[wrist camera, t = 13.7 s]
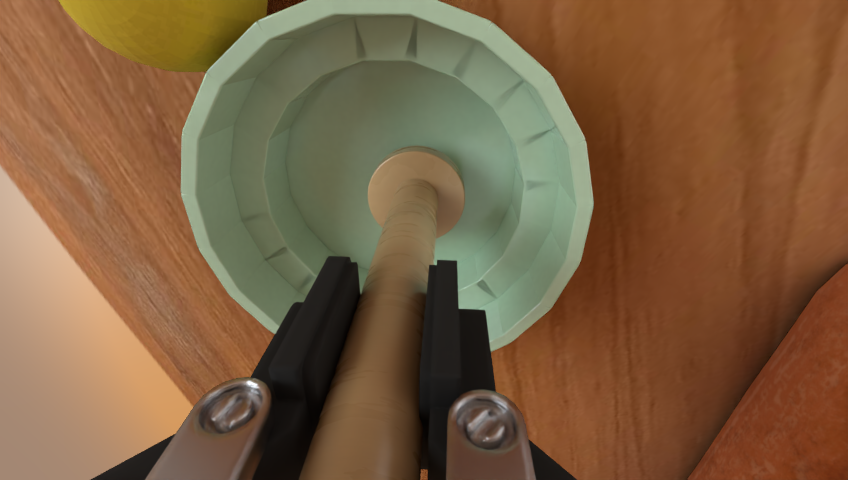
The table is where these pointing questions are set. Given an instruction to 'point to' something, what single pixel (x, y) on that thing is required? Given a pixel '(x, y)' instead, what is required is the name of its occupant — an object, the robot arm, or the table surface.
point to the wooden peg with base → (388, 327)
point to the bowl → (383, 154)
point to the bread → (793, 403)
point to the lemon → (167, 28)
